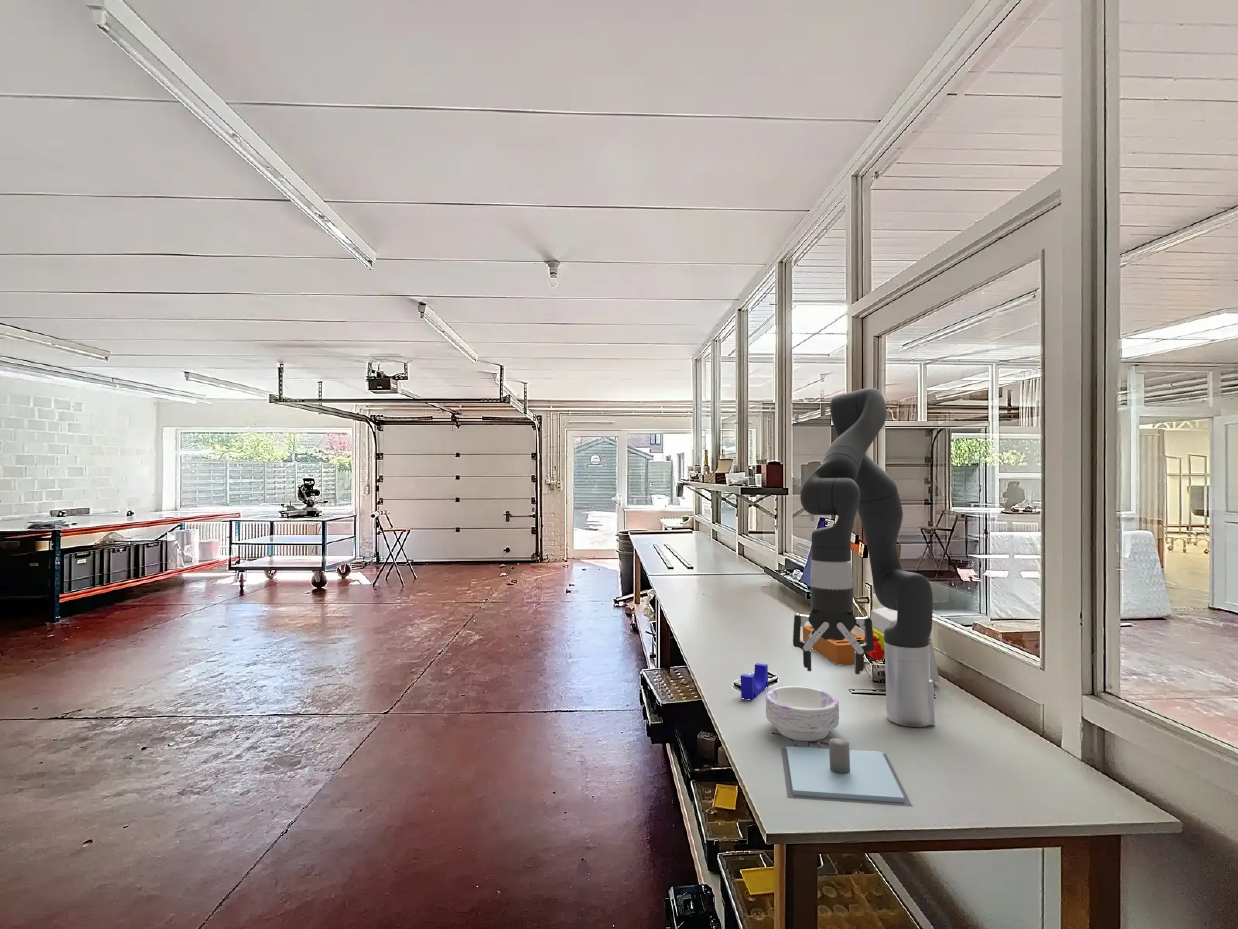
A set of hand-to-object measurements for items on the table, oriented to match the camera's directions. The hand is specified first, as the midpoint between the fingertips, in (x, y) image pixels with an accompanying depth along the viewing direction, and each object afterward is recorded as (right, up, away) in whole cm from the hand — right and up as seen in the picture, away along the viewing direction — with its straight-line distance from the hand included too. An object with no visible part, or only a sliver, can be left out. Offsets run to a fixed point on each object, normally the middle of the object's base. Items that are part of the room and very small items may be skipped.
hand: (832, 671), depth 118 cm
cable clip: (-6, -21, +45) cm, 50 cm away
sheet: (+1, -18, -2) cm, 18 cm away
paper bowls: (0, -20, +18) cm, 27 cm away
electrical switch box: (+35, -19, +53) cm, 66 cm away
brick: (+28, -21, +79) cm, 87 cm away
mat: (+1, -19, -2) cm, 19 cm away
